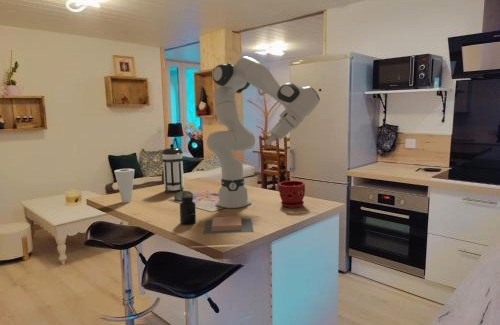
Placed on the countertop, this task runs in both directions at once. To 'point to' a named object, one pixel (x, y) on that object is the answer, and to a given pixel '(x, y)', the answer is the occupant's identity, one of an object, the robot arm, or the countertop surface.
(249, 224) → the mat
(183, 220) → the supplement bottle
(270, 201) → the countertop surface
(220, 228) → the tile
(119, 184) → the cup
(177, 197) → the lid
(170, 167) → the coffee press
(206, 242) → the countertop surface
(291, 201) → the plant pot
